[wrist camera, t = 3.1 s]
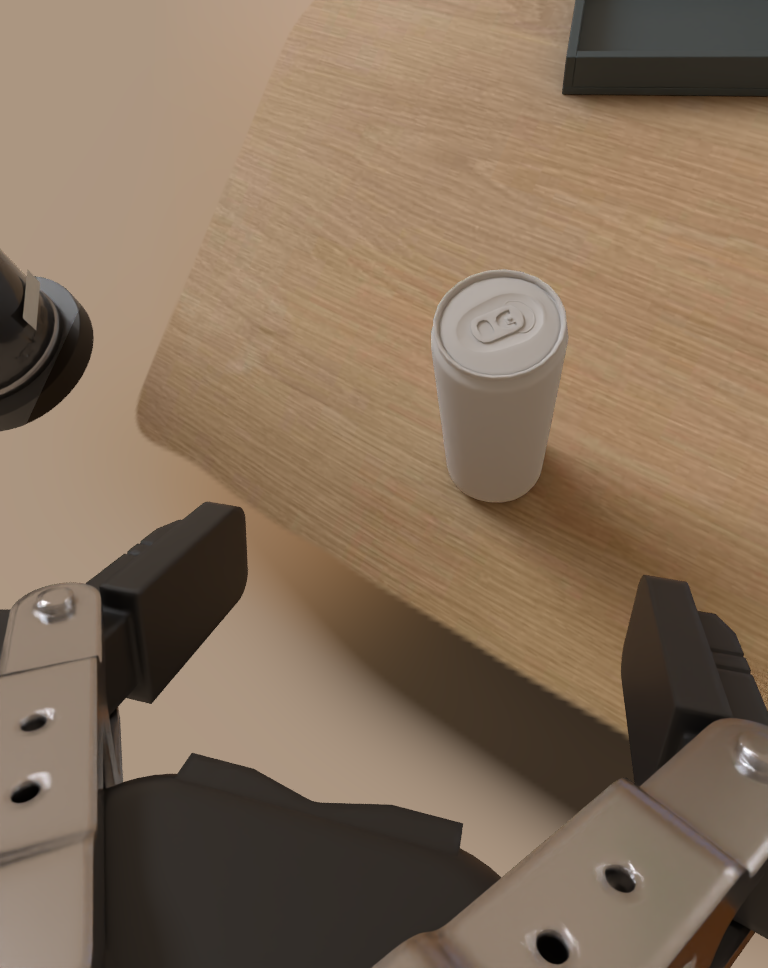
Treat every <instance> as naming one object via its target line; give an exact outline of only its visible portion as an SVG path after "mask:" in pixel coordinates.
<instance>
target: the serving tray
mask: <svg viewBox="0 0 768 968" xmlns="http://www.w3.org/2000/svg"><path fill="white" fill-rule="evenodd" d="M562 94H608V95H709V96H768V0H576V1H575V7H574V13H573V19H572V25H571V31H570V38H569V44H568V50H567V56H566V64H565V72H564V81H563V89H562Z"/></svg>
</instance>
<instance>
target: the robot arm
mask: <svg viewBox="0 0 768 968" xmlns="http://www.w3.org/2000/svg"><path fill="white" fill-rule="evenodd" d="M62 328H63V327H62V317H61V314H60V311H59V309H58V307H57V306H56V304H55V303H54V302H53V301H52V300H51V299H50V298H49V297H48V296H47V295H46V294H45V293H44V292H43V291H42V290H40V282H39V281H38V280H37V279H36V278H35V277H34V276H33V275H32V274H31V273H30V271H29V270H27V276H26V275H25V274H24V273H23V272H22V271H21V270H20V269H19V268H18V267H17V266H16V265H15V263H13V261H12V260H10V258H9V257H8V256H7V255H6V254H5V253H4V252H3V251H2V250H1V249H0V399H3V398H6V397H8V396H10V395H12V394H14V393H16V392H18V391H20V390H21V389H23V388H24V387H26V386H27V385H28V384H30V383H31V382H32V381H33V380H35V379H36V378H37V377H38V376H39V375H40V374H41V373H42V372H43V371H44V369H45V368H46V367H47V366H48V364H49V363H50V362H51V360H52V358H53V357H54V355H55V353H56V351H57V349H58V346H59V344H60V340H61V336H62ZM247 575H248V567H247V545H246V523H245V514H244V511H243V510H242V508H240V507H236V506H231V505H225V504H218V503H212V502H205V503H203V504H202V505H200V506H199V507H198V508H197V509H195V510H194V511H193V512H192V513H191V514H189V515H188V516H187V517H185V518H184V519H183V520H178V521H175V522H172V523H170V524H168V525H165V526H163V527H160V528H158V529H156V530H155V531H153V532H152V533H151V534H149V535H148V536H147V537H145V538H144V539H143V540H142V541H141V543H140V544H136V545H135V546H134V547H132V548H131V549H130V550H129V551H128V553H127V554H123V555H122V556H121V557H120V558H118V559H117V560H116V561H114V562H113V563H112V564H110V565H109V566H108V567H106V568H105V569H104V570H103V571H101V572H100V573H99V574H98V575H96V576H95V577H93V578H92V579H91V580H89V581H88V582H87V583H86V584H83V583H59V584H54V585H49V586H46V587H42V588H40V589H37V590H34V591H32V592H30V593H28V594H27V595H25V596H23V597H22V598H21V599H19V600H18V601H17V602H16V603H15V604H14V605H13V607H12V608H11V610H0V968H730V967H731V966H732V964H733V963H734V961H735V960H736V959H737V957H738V956H739V954H740V953H741V952H742V950H743V949H744V947H745V946H746V944H747V943H748V942H749V940H750V939H751V937H752V936H753V935H754V933H755V932H756V933H758V934H760V935H761V936H763V937H765V938H767V939H768V711H767V709H766V707H765V704H764V702H763V699H762V697H761V694H760V692H759V690H758V687H757V685H756V682H755V680H754V677H753V675H750V671H751V670H750V668H749V665H748V663H747V661H746V658H744V657H743V655H744V653H743V651H742V648H741V646H740V644H739V641H738V639H737V636H736V634H735V633H734V632H733V631H732V630H731V629H730V628H729V627H728V626H727V625H726V624H725V623H724V622H723V621H722V620H721V619H720V618H719V617H718V616H717V615H716V614H712V613H706V612H701V611H697V609H696V606H695V603H694V600H693V597H692V594H691V591H690V588H689V585H688V583H687V582H684V581H678V580H672V579H666V578H660V577H654V576H648V575H643V576H642V578H641V580H640V582H639V585H638V589H637V593H636V597H635V601H634V605H633V610H632V614H631V618H630V622H629V626H628V630H627V634H626V638H625V642H624V647H623V653H622V663H621V678H622V686H623V694H624V702H625V710H626V718H627V726H628V734H629V742H630V750H631V757H632V765H633V773H634V782H635V783H633V782H632V781H630V780H629V779H628V778H621V779H619V780H617V781H615V782H614V783H613V784H611V786H609V787H608V788H607V789H606V790H605V791H603V792H602V793H601V794H600V795H599V796H598V797H596V798H595V799H594V800H593V801H591V802H590V803H589V804H588V805H587V806H585V807H584V808H583V809H582V810H581V811H580V812H578V813H577V814H576V815H575V816H574V817H572V818H571V819H570V820H569V821H568V822H567V823H565V824H564V825H563V826H562V827H561V828H560V829H558V830H557V831H556V832H555V833H554V834H552V835H551V836H550V837H549V838H548V839H547V840H545V841H544V842H543V843H542V844H541V845H539V846H538V847H537V848H536V849H535V850H534V851H532V852H531V853H530V854H529V855H528V856H526V857H525V858H524V859H523V860H522V861H521V862H519V863H518V864H517V865H516V866H515V867H513V868H512V869H511V870H510V871H509V872H508V873H506V874H505V875H504V876H503V877H502V878H501V877H500V876H499V875H498V874H497V873H496V872H494V871H493V870H492V869H491V868H490V867H489V866H487V865H486V864H484V863H483V862H481V861H480V860H479V859H477V858H476V857H474V856H473V855H471V854H469V853H467V852H466V851H464V850H462V849H460V841H461V834H462V827H463V824H462V823H459V822H455V821H451V820H447V819H443V818H440V817H436V816H432V815H428V814H424V813H421V812H417V811H413V810H409V809H405V808H401V807H398V806H394V805H379V804H345V803H344V804H343V803H319V802H314V801H311V800H309V799H307V798H305V797H303V796H301V795H300V794H298V793H296V792H294V791H292V790H291V789H289V788H287V787H285V786H283V785H282V784H280V783H278V782H276V781H274V780H273V779H271V778H269V777H267V776H266V775H264V774H262V773H260V772H258V771H257V770H255V769H252V768H248V767H244V766H241V765H236V764H232V763H229V762H225V761H221V760H218V759H214V758H210V757H206V756H202V755H198V754H194V753H192V754H191V755H190V756H189V758H188V759H187V761H186V762H185V764H184V765H183V767H182V768H181V769H180V771H179V772H178V774H163V775H153V776H147V777H142V778H137V779H133V780H130V781H126V782H123V774H122V753H121V752H122V751H121V731H120V716H119V710H118V706H119V705H120V704H121V703H122V701H123V700H124V699H125V698H129V699H133V700H137V701H141V702H146V703H149V704H152V702H153V701H154V700H155V699H156V698H157V696H158V695H159V694H160V693H161V692H162V691H163V689H164V688H165V687H166V686H167V685H168V683H169V682H170V681H171V680H172V679H173V678H174V676H175V675H176V674H177V673H178V672H179V671H180V669H181V668H182V667H183V666H184V665H185V663H186V662H187V661H188V660H189V659H190V658H191V656H192V655H193V654H194V653H195V652H196V650H197V649H198V648H199V647H200V646H201V645H202V643H203V642H204V641H205V640H206V639H207V637H208V636H209V635H210V634H211V633H212V631H213V630H214V629H215V628H216V627H217V626H218V624H219V623H220V622H221V621H222V620H223V619H224V617H225V616H226V615H227V614H228V613H229V611H230V610H231V609H232V608H233V607H234V605H235V604H236V603H237V602H238V601H239V599H240V598H241V596H242V594H243V592H244V589H245V586H246V582H247Z"/></svg>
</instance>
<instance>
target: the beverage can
mask: <svg viewBox="0 0 768 968" xmlns="http://www.w3.org/2000/svg"><path fill="white" fill-rule="evenodd" d="M567 343H568V329H567V321H566V311H565V308H564V306H563V304H562V302H561V299H560V297H559V296H558V295H557V294H556V293H555V291H554V290H553V289H552V288H551V287H550V286H549V285H548V284H546V283H545V282H543V281H542V280H540V279H539V278H537V277H535V276H532V275H529V274H527V273H524V272H521V271H513V270H506V269H503V270H490V271H485V272H482V273H478V274H475V275H472V276H470V277H468V278H466V279H464V280H462V281H461V282H459V283H457V284H456V285H455V286H454V287H453V288H452V289H450V290H449V291H448V292H447V293H446V294H445V296H444V297H443V299H442V300H441V302H440V303H439V305H438V307H437V310H436V313H435V316H434V319H433V328H432V331H431V349H432V357H433V364H434V371H435V379H436V386H437V394H438V401H439V409H440V416H441V424H442V431H443V438H444V446H445V453H446V461H447V467H448V471H449V474H450V477H451V479H452V480H453V482H454V483H455V485H456V486H457V487H458V488H459V489H460V490H461V491H462V492H464V493H465V494H466V495H468V496H470V497H472V498H475V499H477V500H481V501H486V502H507V501H511V500H515V499H517V498H519V497H521V496H523V495H524V494H526V493H527V492H528V491H529V490H530V489H531V488H532V487H533V486H534V485H535V484H536V482H537V480H538V478H539V476H540V474H541V470H542V465H543V461H544V456H545V451H546V446H547V441H548V436H549V431H550V426H551V422H552V417H553V412H554V407H555V402H556V397H557V392H558V387H559V382H560V377H561V373H562V368H563V363H564V358H565V353H566V348H567Z"/></svg>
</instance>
